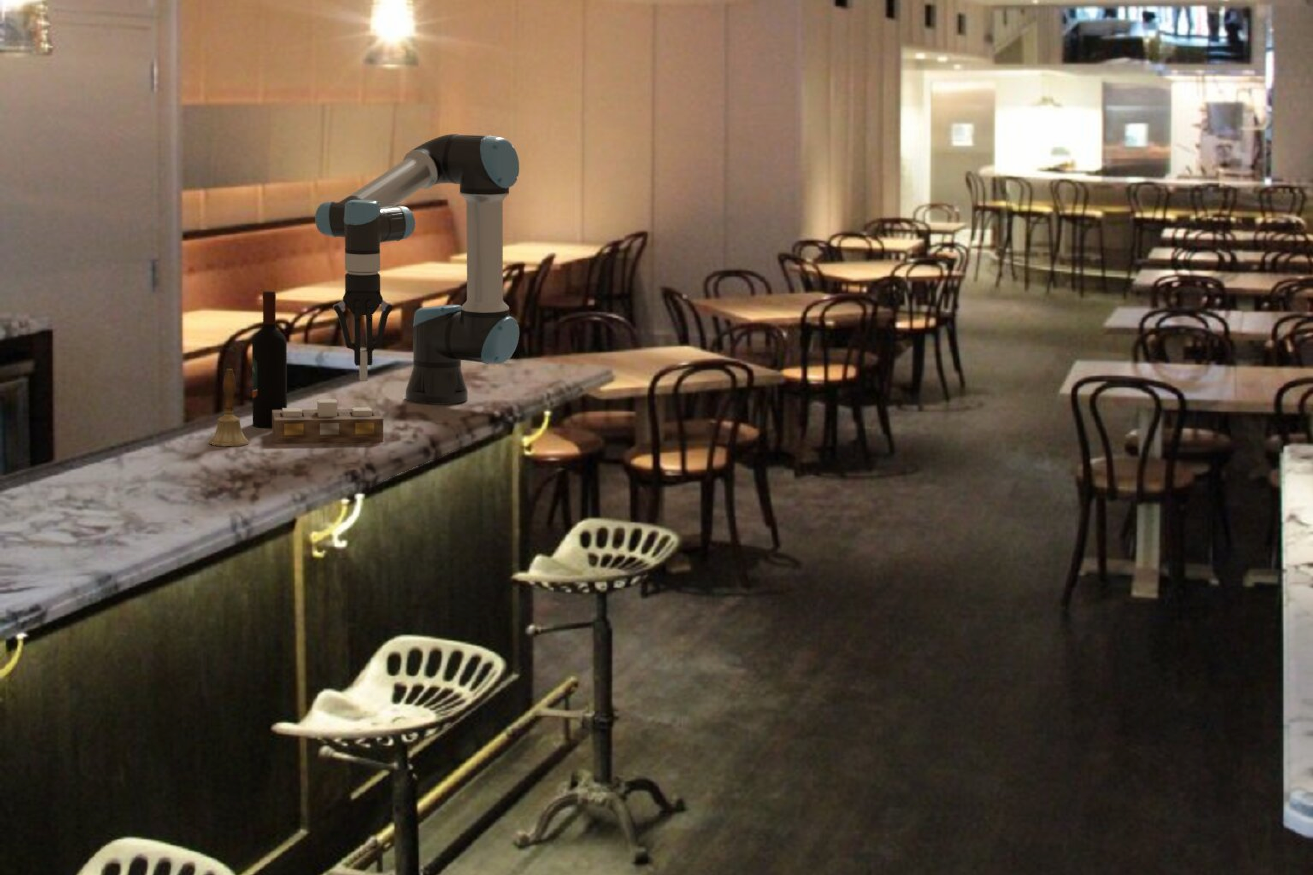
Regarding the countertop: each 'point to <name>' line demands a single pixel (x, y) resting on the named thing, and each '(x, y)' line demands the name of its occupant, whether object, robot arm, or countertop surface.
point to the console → (327, 427)
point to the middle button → (326, 407)
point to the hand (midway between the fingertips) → (363, 380)
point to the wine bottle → (268, 366)
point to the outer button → (291, 412)
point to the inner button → (361, 411)
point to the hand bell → (229, 418)
